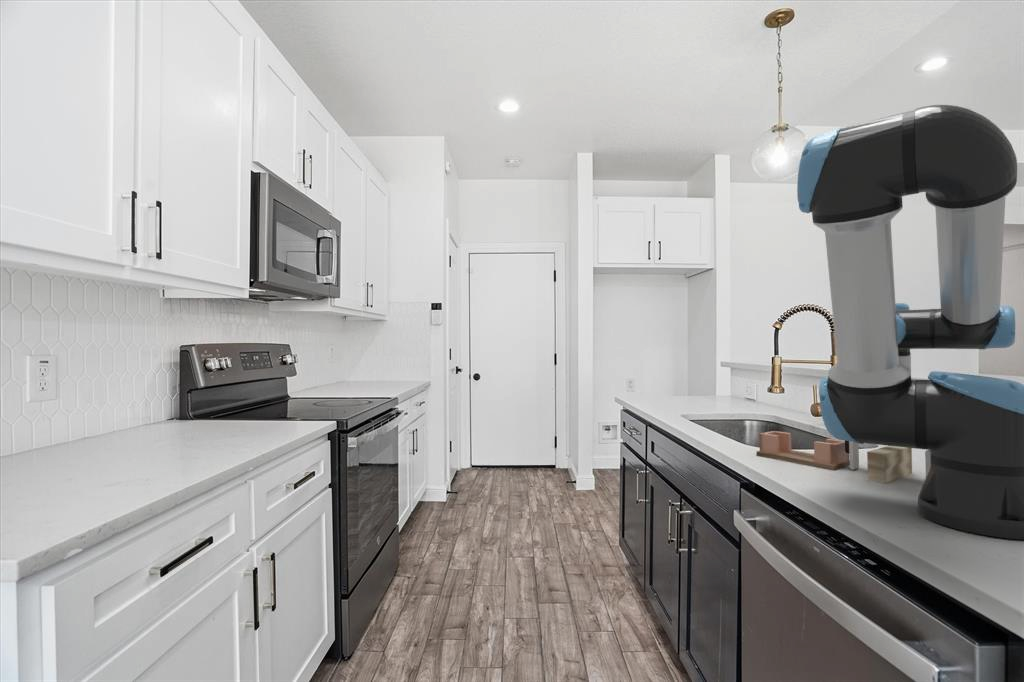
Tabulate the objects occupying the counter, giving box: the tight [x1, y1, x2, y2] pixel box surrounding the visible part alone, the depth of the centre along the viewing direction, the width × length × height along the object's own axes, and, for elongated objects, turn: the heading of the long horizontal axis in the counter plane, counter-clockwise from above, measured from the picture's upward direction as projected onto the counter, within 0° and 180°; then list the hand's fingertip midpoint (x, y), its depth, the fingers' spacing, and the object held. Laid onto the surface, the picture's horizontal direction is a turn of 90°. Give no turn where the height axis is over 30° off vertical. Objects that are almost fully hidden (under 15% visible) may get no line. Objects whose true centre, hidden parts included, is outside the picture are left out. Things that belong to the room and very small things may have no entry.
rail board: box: [755, 449, 850, 471], centre depth 119 cm, size 9×18×1 cm, turn 32°
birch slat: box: [866, 445, 913, 484], centre depth 104 cm, size 14×3×6 cm, turn 123°
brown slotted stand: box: [758, 430, 850, 465], centre depth 119 cm, size 7×18×4 cm, turn 32°
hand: (890, 475), depth 104 cm, fingers open, 13 cm apart
